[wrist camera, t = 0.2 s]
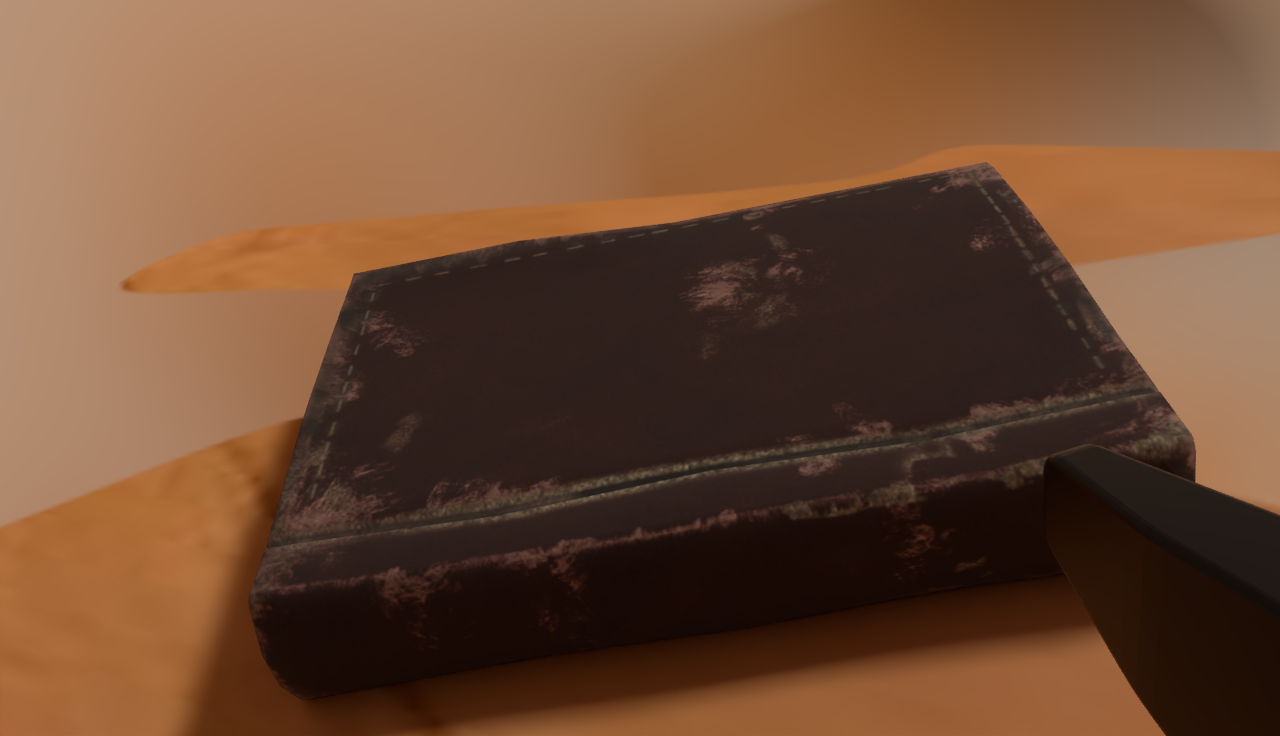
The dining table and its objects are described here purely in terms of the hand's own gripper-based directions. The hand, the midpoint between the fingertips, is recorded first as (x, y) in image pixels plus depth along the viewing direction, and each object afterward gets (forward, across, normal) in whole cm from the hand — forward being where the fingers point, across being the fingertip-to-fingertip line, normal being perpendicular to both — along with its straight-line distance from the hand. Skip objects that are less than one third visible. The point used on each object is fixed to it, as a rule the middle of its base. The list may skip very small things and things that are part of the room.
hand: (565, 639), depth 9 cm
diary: (+23, -5, +16) cm, 29 cm away
